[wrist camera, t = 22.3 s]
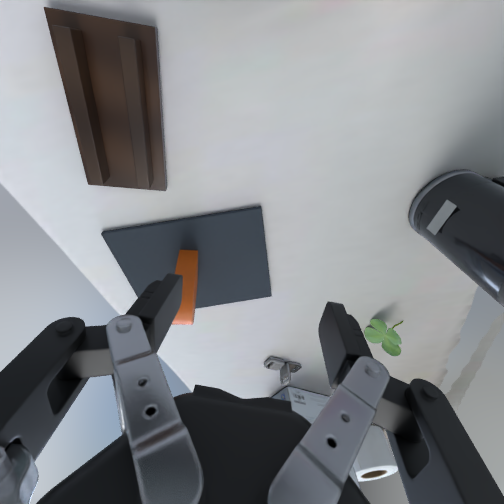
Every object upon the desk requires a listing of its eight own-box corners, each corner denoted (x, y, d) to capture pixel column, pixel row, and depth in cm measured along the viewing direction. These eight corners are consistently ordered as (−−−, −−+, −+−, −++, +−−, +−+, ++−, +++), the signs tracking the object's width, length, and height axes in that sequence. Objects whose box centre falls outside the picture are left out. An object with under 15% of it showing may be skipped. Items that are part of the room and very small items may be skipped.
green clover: (374, 305, 54) (355, 321, 51) (410, 302, 47) (391, 321, 44) (391, 335, 54) (373, 353, 51) (429, 337, 47) (411, 358, 44)
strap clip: (262, 363, 54) (265, 383, 51) (270, 355, 53) (273, 376, 50) (293, 371, 58) (298, 390, 54) (302, 364, 56) (307, 383, 53)
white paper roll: (331, 433, 85) (344, 475, 77) (377, 420, 82) (396, 463, 73) (342, 445, 94) (355, 484, 85) (384, 434, 91) (401, 473, 82)
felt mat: (260, 205, 32) (261, 208, 32) (270, 293, 42) (271, 296, 41) (102, 231, 32) (100, 234, 32) (149, 313, 42) (148, 316, 41)
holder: (50, 8, 20) (27, 2, 18) (157, 28, 21) (149, 24, 19) (91, 181, 28) (79, 192, 26) (167, 187, 29) (162, 199, 27)
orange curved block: (179, 249, 34) (168, 300, 27) (198, 250, 34) (192, 300, 27) (180, 282, 38) (171, 335, 30) (197, 282, 38) (192, 334, 31)
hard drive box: (267, 398, 65) (283, 509, 49) (287, 384, 61) (310, 498, 45) (312, 408, 71) (338, 508, 55) (331, 396, 68) (366, 499, 52)
